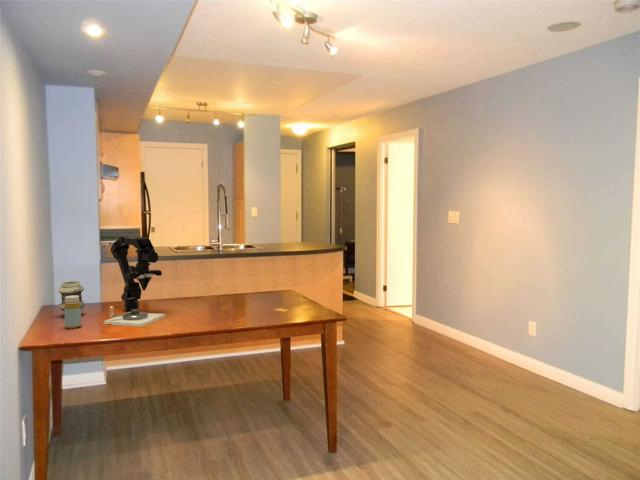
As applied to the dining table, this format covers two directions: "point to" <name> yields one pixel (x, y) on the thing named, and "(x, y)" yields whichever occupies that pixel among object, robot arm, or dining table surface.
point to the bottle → (72, 311)
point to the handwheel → (128, 314)
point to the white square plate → (135, 320)
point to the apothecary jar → (71, 292)
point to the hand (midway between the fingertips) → (144, 290)
